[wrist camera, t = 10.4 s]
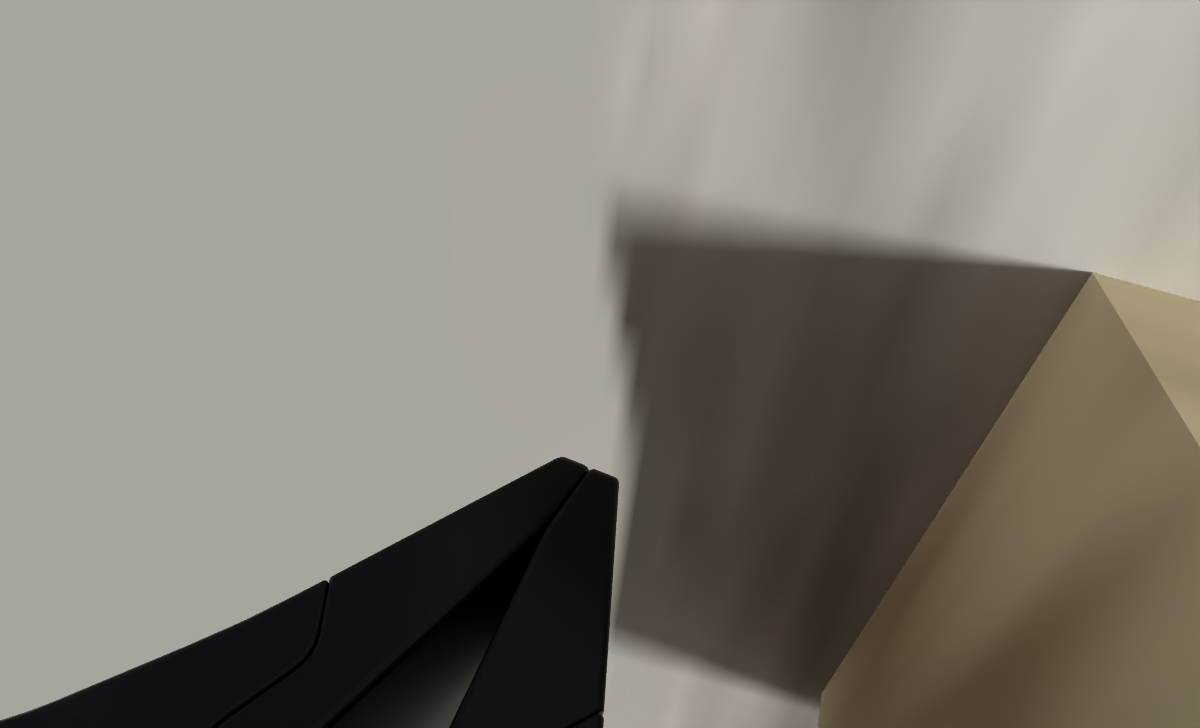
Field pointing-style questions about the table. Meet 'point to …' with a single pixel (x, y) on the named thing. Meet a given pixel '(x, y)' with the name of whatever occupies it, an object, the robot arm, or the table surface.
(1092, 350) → the bookend
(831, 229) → the table surface
